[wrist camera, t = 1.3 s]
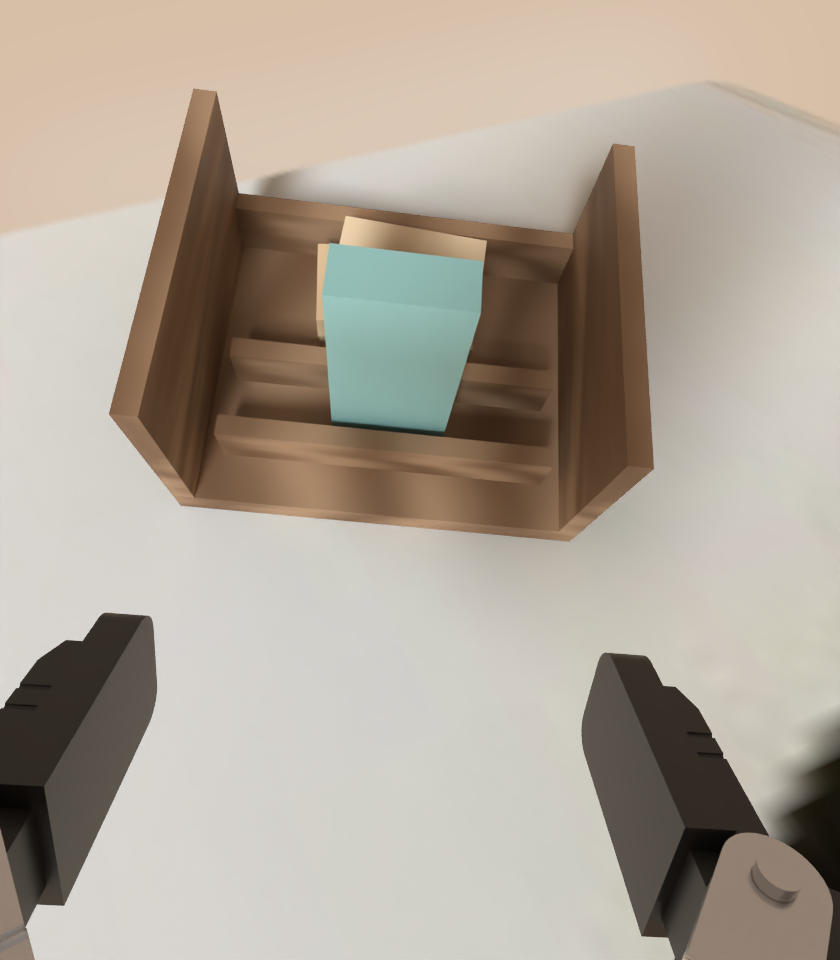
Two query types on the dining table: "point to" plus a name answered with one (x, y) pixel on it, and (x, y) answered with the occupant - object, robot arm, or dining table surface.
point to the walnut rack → (304, 373)
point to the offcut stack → (396, 240)
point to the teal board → (397, 336)
